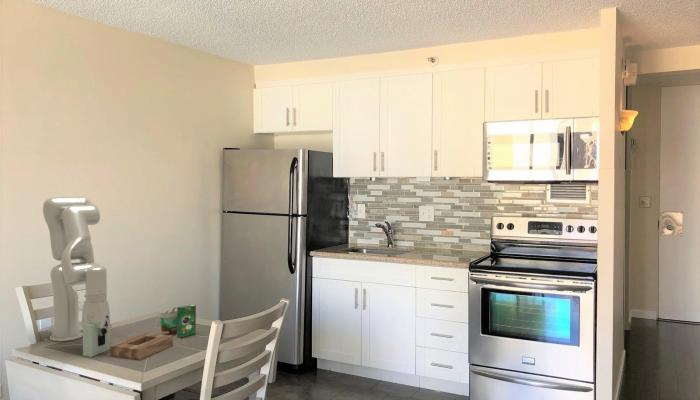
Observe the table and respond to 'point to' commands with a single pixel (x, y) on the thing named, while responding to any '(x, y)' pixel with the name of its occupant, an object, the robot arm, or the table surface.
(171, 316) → the food container
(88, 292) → the robot arm
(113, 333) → the table surface
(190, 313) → the coffee box
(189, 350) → the table surface
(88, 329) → the pale green upright block
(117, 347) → the slotted block
